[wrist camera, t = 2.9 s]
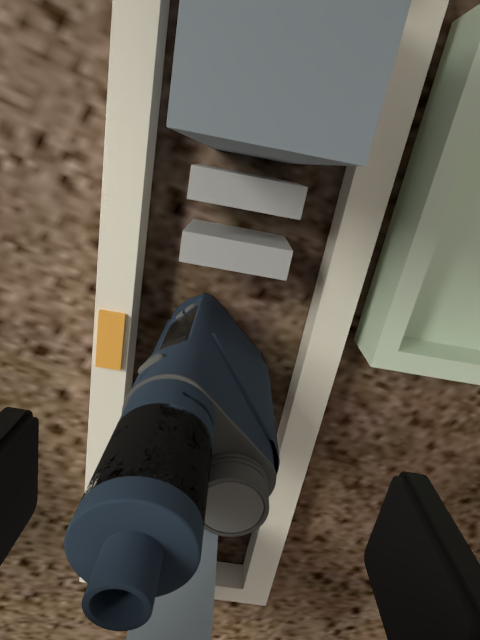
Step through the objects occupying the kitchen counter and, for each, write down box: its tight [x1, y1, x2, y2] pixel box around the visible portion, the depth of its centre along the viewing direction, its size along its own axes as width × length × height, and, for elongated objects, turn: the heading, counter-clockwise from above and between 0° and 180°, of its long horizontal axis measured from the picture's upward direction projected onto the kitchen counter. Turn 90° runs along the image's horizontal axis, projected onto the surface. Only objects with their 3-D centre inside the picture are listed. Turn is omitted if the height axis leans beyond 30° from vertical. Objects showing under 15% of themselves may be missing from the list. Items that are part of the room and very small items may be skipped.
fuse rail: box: [79, 0, 449, 640], centre depth 13 cm, size 28×10×10 cm, turn 170°
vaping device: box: [64, 293, 280, 631], centre depth 12 cm, size 3×5×12 cm, turn 37°
